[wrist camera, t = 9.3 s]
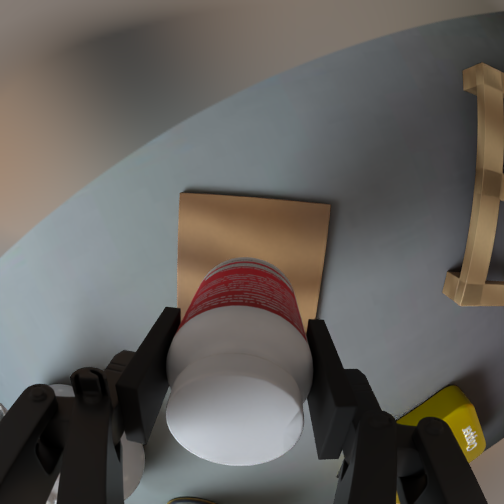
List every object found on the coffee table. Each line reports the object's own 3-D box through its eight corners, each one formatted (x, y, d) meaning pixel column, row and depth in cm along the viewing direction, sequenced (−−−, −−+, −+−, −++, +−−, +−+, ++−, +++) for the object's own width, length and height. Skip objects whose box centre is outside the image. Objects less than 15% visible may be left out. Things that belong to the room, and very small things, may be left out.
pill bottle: (184, 270, 20) (112, 370, 9) (279, 242, 19) (304, 327, 9) (216, 353, 21) (188, 484, 10) (305, 331, 21) (338, 460, 10)
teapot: (21, 416, 33) (-23, 473, 20) (50, 346, 30) (-21, 415, 16) (123, 488, 36) (98, 554, 22) (183, 441, 32) (158, 535, 19)
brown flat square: (181, 192, 26) (179, 192, 25) (329, 204, 26) (331, 204, 25) (178, 326, 28) (177, 329, 28) (310, 337, 28) (311, 340, 28)
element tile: (475, 431, 32) (489, 451, 28) (390, 486, 35) (398, 509, 30) (454, 377, 30) (473, 400, 25) (348, 447, 32) (356, 476, 27)
